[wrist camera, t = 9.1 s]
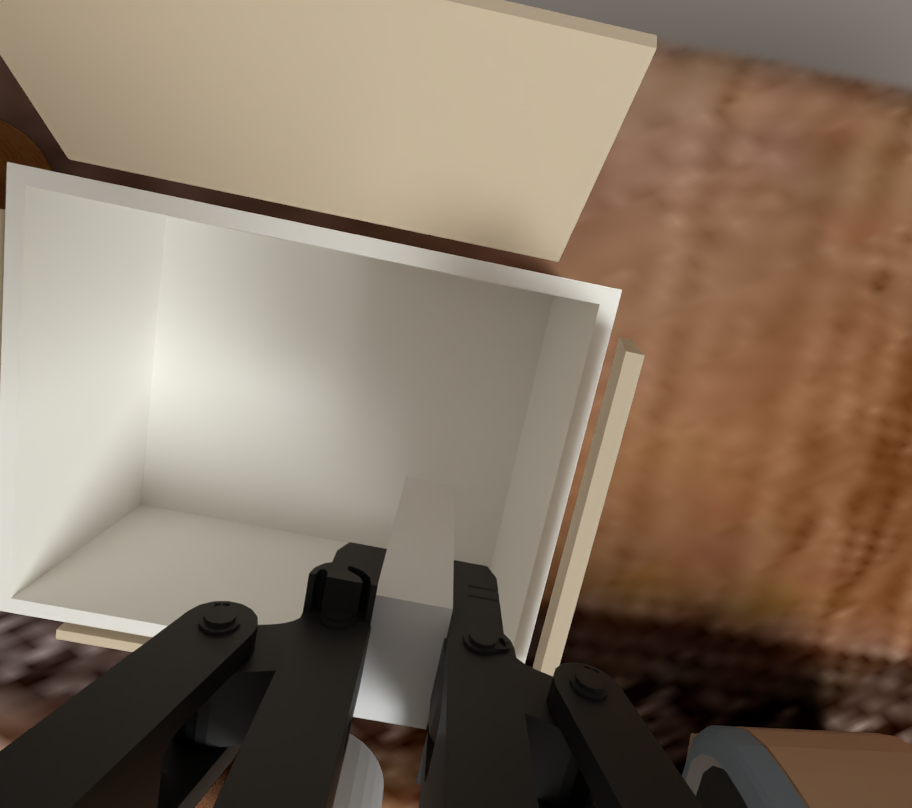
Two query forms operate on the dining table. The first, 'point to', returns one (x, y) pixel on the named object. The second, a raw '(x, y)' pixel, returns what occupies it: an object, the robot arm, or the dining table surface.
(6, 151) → the disposable coffee cup
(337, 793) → the mug
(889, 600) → the dining table surface
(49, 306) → the carton
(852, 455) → the dining table surface
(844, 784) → the alarm clock
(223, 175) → the long flap
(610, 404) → the short flap
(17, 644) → the dining table surface
